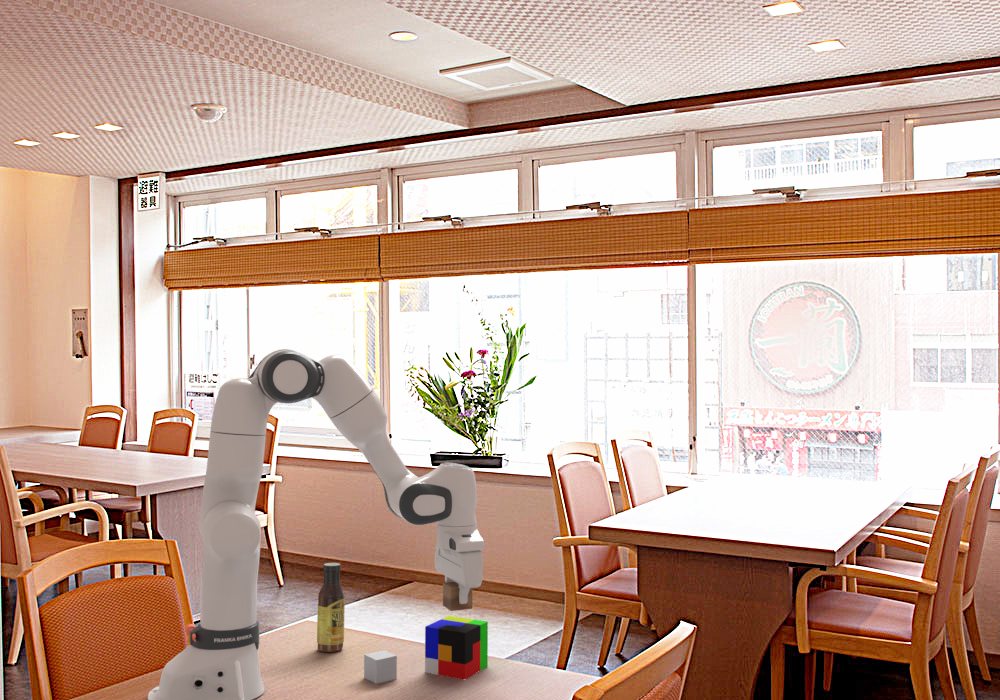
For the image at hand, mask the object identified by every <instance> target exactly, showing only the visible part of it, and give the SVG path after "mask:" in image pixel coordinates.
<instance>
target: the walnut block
mask: <svg viewBox="0 0 1000 700" xmlns="http://www.w3.org/2000/svg"><path fill="white" fill-rule="evenodd" d="M459 590H460V588H459V584H458V583H457V582H447V583H446V582H443V583H442V607H444V608H446V609H447V610H448V611H451V612H454V611H462V610H471V609H473V588H470V590H469V593H468V602H467V603H466V604H460V603H459V602H458V595H459Z"/></svg>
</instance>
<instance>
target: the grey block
mask: <svg viewBox="0 0 1000 700" xmlns="http://www.w3.org/2000/svg"><path fill="white" fill-rule="evenodd" d="M363 656H364V657H363V666H364V667H363V678H364V679H366V680H368V681H370V682H371V683H374V684H375V685H377V684H381V683H385V682H390V681H394V680H398V679H397V678H398V677H397V675H398V674H397V673H398V670H397V669H398V668H397V666H398V665H397V664H398V663H397V662H398V660H397V658H398V656H397V655H396V654H394V653H392V652H390V651H387V650H386V649H383V650H379V651H374V652H370V653H364V654H363Z"/></svg>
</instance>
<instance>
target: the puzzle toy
mask: <svg viewBox="0 0 1000 700" xmlns="http://www.w3.org/2000/svg"><path fill="white" fill-rule="evenodd" d="M488 627H489V622H488V621H487V620H482V619H473V618H467V617H460V616H459V617H458V616H453V615H447V616H445V617H443V618H441V619H439V620H437V621H435V622H433V623H430V624H428V625H425V628H424V638H425V639H424V640H425V641H424V642H425V644H424V656H425V657H424V665H425V666H424V673H425V674H430V673H431V675H437V676H441V675H443V676H442V677H447V676H448V677H447V678H452V677H454V678H453V679H458V678H459V679H458V680H463V679H466V680H467V679H469V678H470V676H471V677H472V676H474V675H476V674H477V673H479V672H481V671H483V670H484V669H486V668H487V666H488V661H489V659H488V655H489V654H488V653H489V648H488V647H489V645H488V643H489V641H488V640H489V639H488V636H489V633H488V632H489V631H488V630H489V629H488ZM485 667H486V668H485ZM483 668H484V669H483ZM482 669H483V670H482ZM480 670H481V671H480ZM478 671H479V672H478ZM476 672H477V673H476ZM475 673H476V674H475ZM473 674H474V675H473ZM468 677H469V678H468Z"/></svg>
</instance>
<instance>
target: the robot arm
mask: <svg viewBox="0 0 1000 700" xmlns="http://www.w3.org/2000/svg"><path fill="white" fill-rule="evenodd" d="M307 399H314V400H315V402H317V403H318V404H319V406H321V408H322V409H323V411H324V412H325V414H326V415H327V416H328V419H329V420H330V421H331V423H332V424H333V426H334V427H335V428H336V429H337V430H338V431H339V432H340V434H341V435H342V436H343V437H344V438H345V439H346V440H347V441H349V442H350V443H351V444H352V445H353V446H354V447H355V448H357V449H358V450H359V451H360V452H361V453H362V454H363V455H364V458H365V459H366V460H367V462H368V464H369V465H370V466H371V468H372V469H373V471H374V472H375V474H376V475H377V477H378V479H379V480H380V482H381V483H382V487H383V491H384V497H385V503H386V505H387V507H388V510H389V511H390V512H391V513H392V514H393V515H395V516H396V517H398V518H400V519H403V520H404V521H405V522H407V523H408V524H411V525H414V526H423V525H428V524H432V523H436V542H435V551H434V552H435V553H434V567H435V570H436V572H438V573H440V574H442V575H443V576H444V581H445V582H444V583H447V582H457V583H458V584H459V588H460V590H459V595H458V602H459V603H460V604H466V603H467V602H468V593H469V590H470V588H472V589H474V588H479V587H481V585H482V582H483V572H484V571H483V569H484V556H483V553H482V551H484V550H485V547H486V546H485V545H486V543H485V540H484V539H483V537H482V536H481V535H480V532H479V530H478V520H477V517H476V516H477V515H476V508H477V504H478V495H477V493H478V491H477V482H476V474H475V472H474V470H473V469H472V468H471V467H469V466H468V465H465V464H461V463H456V462H442V463H441V462H440V465H438V466H437V467H435V468H434V469H433V470H431V471H430V472H428V473H425V474H424V475H421V476H419V475H417V474H416V473H414V472H412V471H410V470H409V469H408V468H407V466H406V465H405V464H404V462H403V461H402V459H401V457H400V456H399V455H398V453H397V451H396V450H395V448H394V446H393V445H392V444H391V442H390V440H389V437H388V435H387V422H388V415H387V413H386V410H385V408H384V405H383V403H382V401H381V400H380V398H379V396H378V394H377V393H376V391H375V390H374V388H373V387H372V385H371V384H370V382H369V381H368V379H367V378H366V377H365V376H364V375H363V374H362V372H361V371H360V370H359V369H358V368H357V367H356V366H355V364H354V363H353V362H352V361H351V360H349V358H347V357H346V356H344V355H342V354H332V355H329V356H326V357H323V358H322V359H320V360H319V361H317V360H314V358H311V357H309V356H308V355H305V354H303V353H301V352H298V351H295V350H293V349H287V348H286V349H278V350H274V351H272V352H270V353H268V354H267V355H266V356H265V357H263V358H262V359H261V360H260V362H259V363H258V364H257V366H256V368H254V370H253V372H252V373H251V374H250V375H249V377H248V378H242V377H241V378H240V377H239V378H234V379H233V378H232V379H231V380H227V381H226V382H224V383H223V384H222V385H221V386H220V388H219V390H218V393H217V397H216V399H215V403H214V407H213V412H212V417H211V423H210V424H211V425H210V432H209V441H208V442H209V443H208V451H207V461H206V471H205V478H204V483H203V490H202V496H201V502H200V509H199V517H198V531H199V534H200V536H201V539H202V544H203V545H202V567H201V581H200V607H199V608H200V609H199V610H200V616H199V617H200V619H199V620H200V623H199V624H198V625H197V626H196V625H195V624H193V623H189V624H187V625H186V627H185V632H186V635H187V636H189V645H188V646H187V647H185V648H184V649H182V650H181V652H179V653H178V654H177V655H176V656H174V657H173V658H172V659H170V660H169V661H168V662H167V663H166V664H165V665H164V666H163V669H162V672H161V674H160V675H161V676H160V681H159V683H158V684H159V685H157V686H155V687H154V688H152V689H151V690H149V692H148V695H147V700H255V699H256V698H258V697H260V696H262V694H264V692H265V689H266V688H265V685H264V682H263V678H262V674H261V669H260V662H259V652H258V651H259V648H260V647H259V646H260V623H259V621H258V617H257V616H258V615H257V613H258V610H257V609H258V598H257V597H258V577H259V568H260V556H261V554H260V553H261V543H262V542H261V541H262V540H261V539H262V526H261V522H260V520H259V518H258V516H257V515H256V504H257V498H258V493H259V487H260V482H261V479H262V476H263V473H264V472H263V471H264V470H263V469H264V460H265V450H266V449H265V448H266V437H267V435H266V434H267V425H268V419H269V414H270V413H271V410H272V409H273V407H274V406H275V405H277V404H278V403H280V404H295V403H299V402H302V401H305V400H307Z"/></svg>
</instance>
